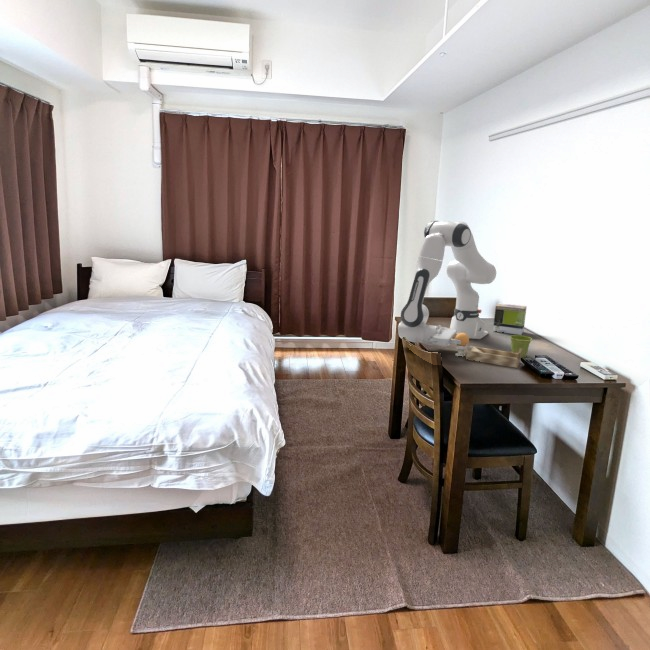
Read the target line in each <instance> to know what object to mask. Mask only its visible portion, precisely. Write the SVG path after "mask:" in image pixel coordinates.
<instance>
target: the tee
mask: <svg viewBox="0 0 650 650" xmlns="http://www.w3.org/2000/svg"><path fill="white" fill-rule="evenodd" d="M467 347H468V344H467V345H465V346H459V345H457V344H455V349H458V350H457V352H456V353H455V357H458V356H462V357H461V358H464V357H463V356H465V357H466V354H465V353H464V351H465V350H467V349H468V348H467Z"/></svg>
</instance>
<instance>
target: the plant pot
mask: <svg viewBox="0 0 650 650" xmlns="http://www.w3.org/2000/svg"><path fill="white" fill-rule="evenodd" d="M509 338H510V342H511V343H510V344H511V346H510V347H511V351H510V352H513V353H518V352H519V348H522V352H521V358H522V357H523V358H526V356H527V354H528V349H529V347H530V344H531V342H532V340H533V338H532V337H530V336H526V335H517V334H511V335H510V336H509Z"/></svg>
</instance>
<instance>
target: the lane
mask: <svg viewBox="0 0 650 650" xmlns="http://www.w3.org/2000/svg"><path fill="white" fill-rule="evenodd" d="M521 352H522V348H519V352H518V353H513V352H511V351H507V350H506V351H505V350H498V349H493V348H488V347H487V348H485V347H479V346H474V345H469V346H468V348H466V354H465V359H466V360H467V359H470V360H469V361H473V360H475V361H474V362H479V361H480V363H485V362H486V364H492V365H497V366H503V367H509V368H516V369H519V368H520V364H521Z"/></svg>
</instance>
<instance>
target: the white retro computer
mask: <svg viewBox="0 0 650 650" xmlns="http://www.w3.org/2000/svg"><path fill="white" fill-rule="evenodd" d="M526 313H527V305H520V304H519V305H518V304H511V303H502V302H498V303H497V304H496V305H495V311H494V319H493V326H492V327H493V329H492V332H495V331H497V332H498V333H502V332H504V334H511V335H522V334H523V333H524V329H525V321H526ZM497 332H496V333H497ZM522 336H523V335H522Z"/></svg>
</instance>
